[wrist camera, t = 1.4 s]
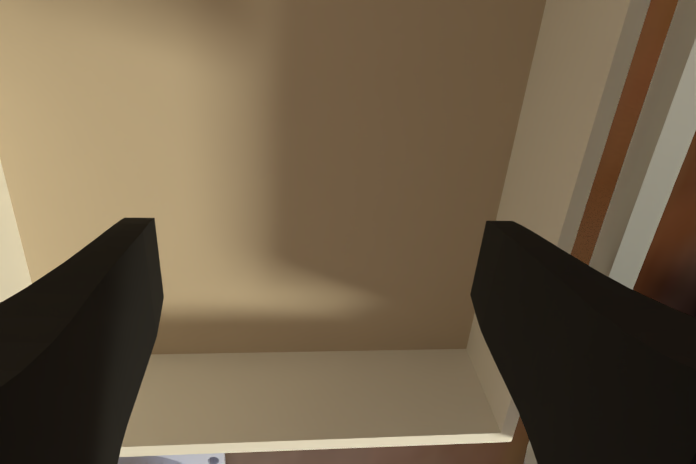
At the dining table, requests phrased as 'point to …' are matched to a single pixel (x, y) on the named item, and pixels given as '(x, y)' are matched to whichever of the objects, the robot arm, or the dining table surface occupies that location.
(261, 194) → the carton
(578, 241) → the dining table surface
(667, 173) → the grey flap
